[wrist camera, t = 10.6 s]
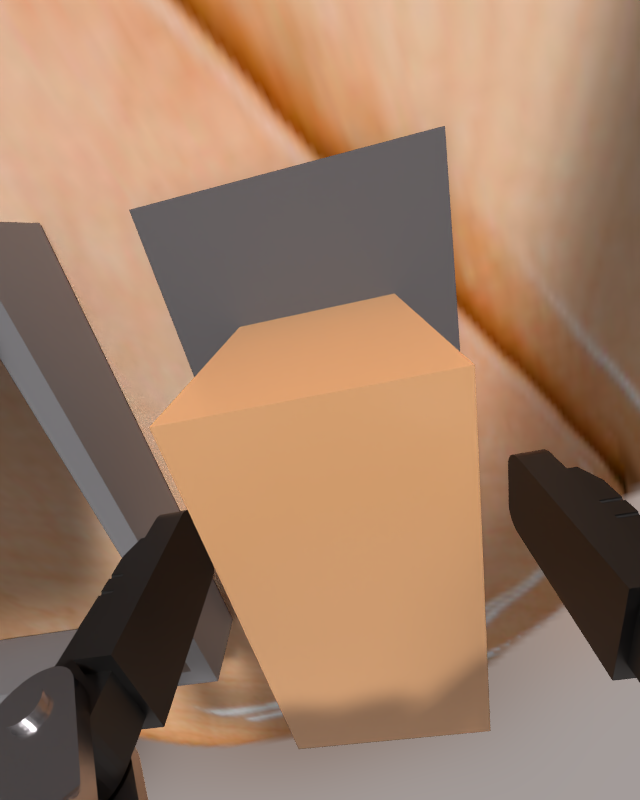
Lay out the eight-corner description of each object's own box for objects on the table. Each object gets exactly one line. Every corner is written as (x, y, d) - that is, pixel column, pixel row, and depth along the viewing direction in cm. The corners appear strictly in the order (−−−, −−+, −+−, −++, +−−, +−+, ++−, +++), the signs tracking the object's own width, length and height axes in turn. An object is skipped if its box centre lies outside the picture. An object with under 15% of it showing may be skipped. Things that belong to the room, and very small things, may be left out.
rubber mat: (440, 130, 9) (444, 126, 9) (472, 581, 15) (476, 590, 15) (136, 211, 10) (129, 209, 9) (288, 607, 16) (287, 615, 16)
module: (394, 293, 10) (474, 364, 5) (425, 533, 14) (489, 730, 8) (239, 326, 11) (149, 427, 5) (308, 551, 14) (298, 749, 9)
